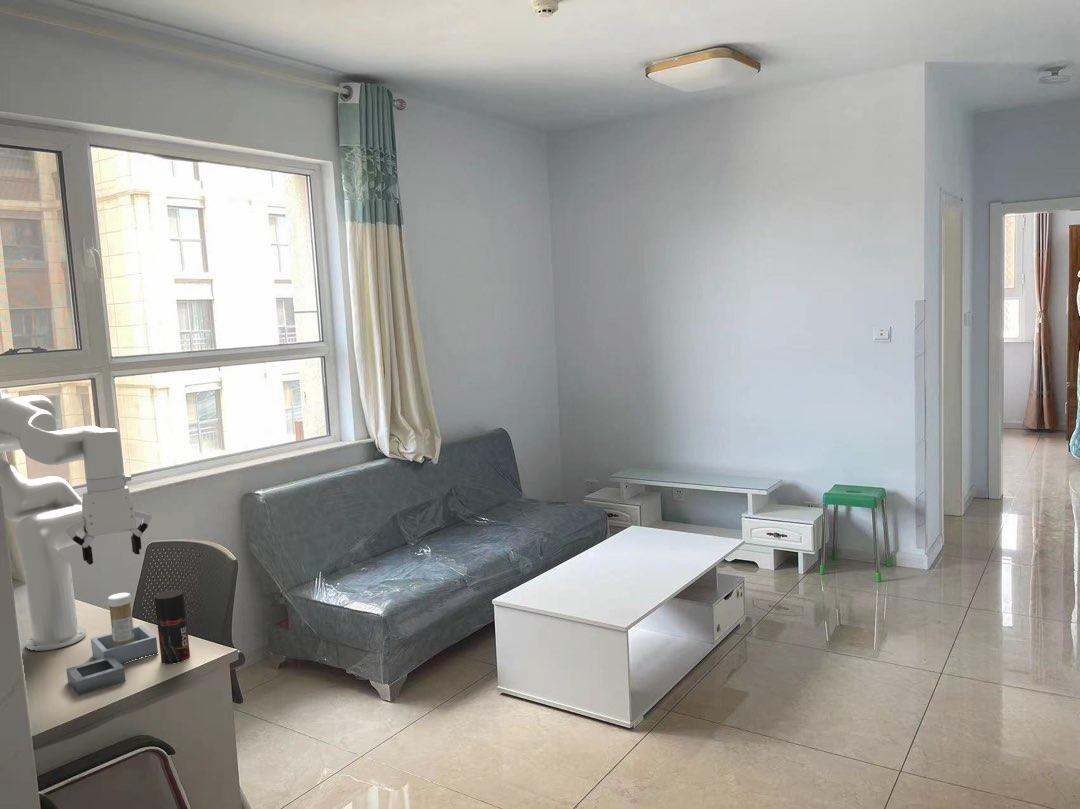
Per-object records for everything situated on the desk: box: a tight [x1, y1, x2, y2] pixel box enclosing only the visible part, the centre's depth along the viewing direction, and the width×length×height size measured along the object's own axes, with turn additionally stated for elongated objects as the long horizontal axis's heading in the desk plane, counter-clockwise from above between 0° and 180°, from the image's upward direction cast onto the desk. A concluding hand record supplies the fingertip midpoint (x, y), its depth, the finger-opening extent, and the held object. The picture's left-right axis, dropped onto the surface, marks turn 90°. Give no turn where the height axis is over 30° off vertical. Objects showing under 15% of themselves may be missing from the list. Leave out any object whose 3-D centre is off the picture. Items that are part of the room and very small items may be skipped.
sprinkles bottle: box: [107, 592, 134, 647], centre depth 187 cm, size 5×5×13 cm
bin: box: [90, 624, 159, 665], centre depth 187 cm, size 11×11×4 cm
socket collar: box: [65, 656, 126, 697], centre depth 173 cm, size 9×9×3 cm
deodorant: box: [154, 589, 191, 665], centre depth 183 cm, size 6×6×15 cm
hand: (113, 558), depth 185 cm, fingers open, 9 cm apart
